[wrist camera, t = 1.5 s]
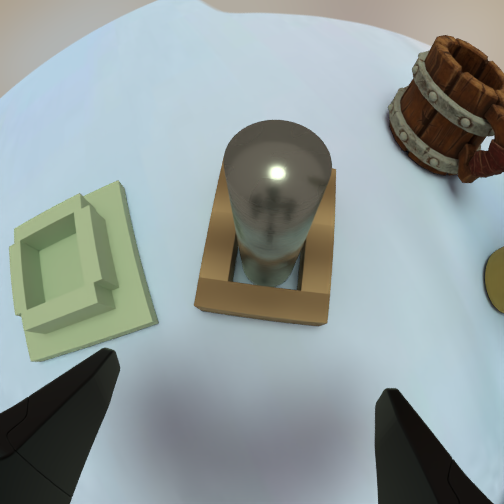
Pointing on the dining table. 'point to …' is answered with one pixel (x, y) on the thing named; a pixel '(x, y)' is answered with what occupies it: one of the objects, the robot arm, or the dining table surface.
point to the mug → (452, 111)
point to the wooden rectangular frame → (262, 297)
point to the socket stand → (79, 275)
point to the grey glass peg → (274, 194)
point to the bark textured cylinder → (496, 279)
